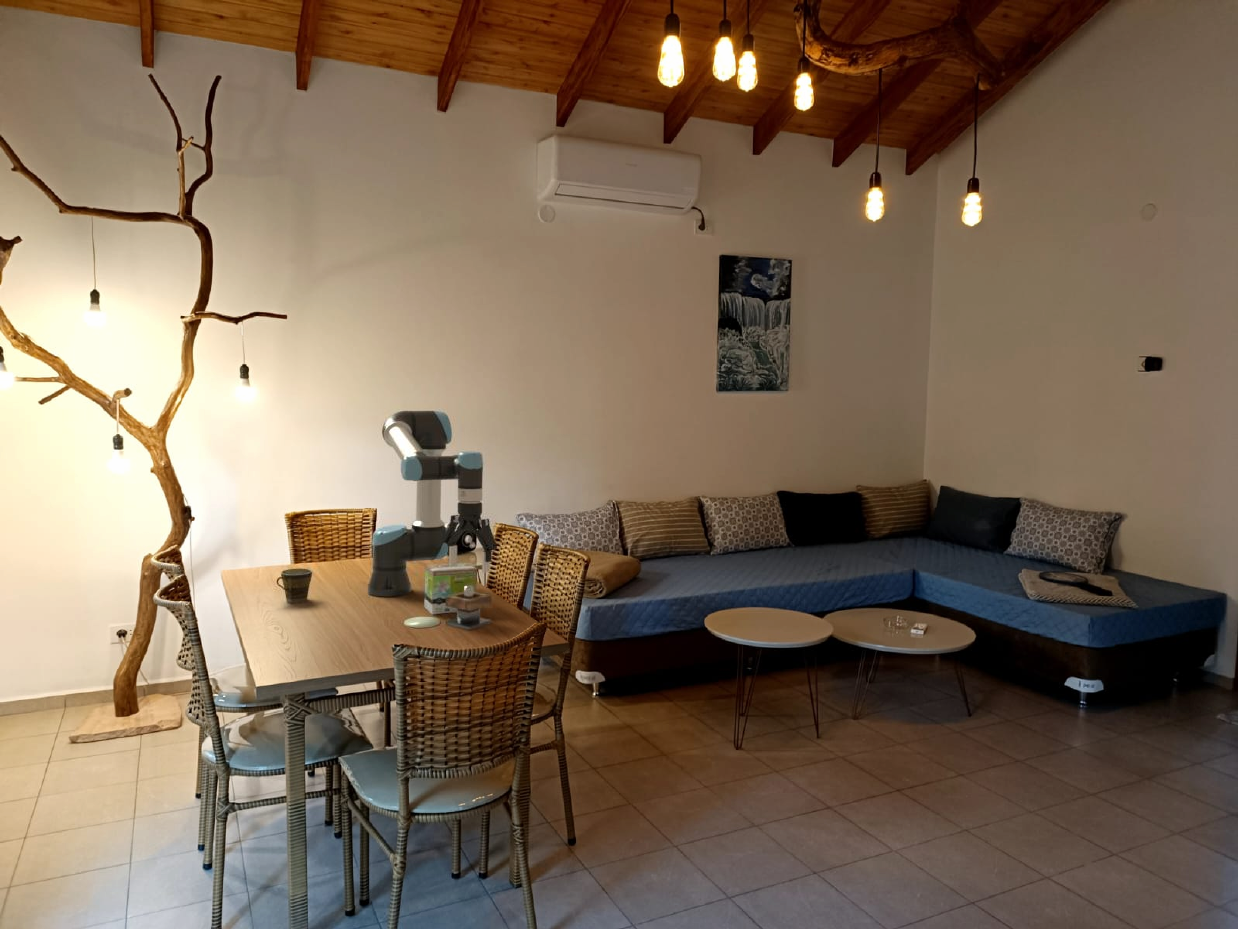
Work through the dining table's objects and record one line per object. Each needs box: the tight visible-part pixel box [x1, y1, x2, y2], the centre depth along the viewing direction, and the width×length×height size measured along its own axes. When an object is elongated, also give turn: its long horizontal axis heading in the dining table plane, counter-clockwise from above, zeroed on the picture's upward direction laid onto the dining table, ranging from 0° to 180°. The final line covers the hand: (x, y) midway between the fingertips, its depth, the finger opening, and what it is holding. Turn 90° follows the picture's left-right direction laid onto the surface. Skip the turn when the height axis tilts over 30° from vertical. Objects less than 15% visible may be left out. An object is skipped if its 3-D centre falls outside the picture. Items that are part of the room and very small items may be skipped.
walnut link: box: [446, 591, 492, 611], centre depth 271 cm, size 10×10×3 cm
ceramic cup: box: [276, 567, 313, 604], centre depth 291 cm, size 13×10×10 cm
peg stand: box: [444, 585, 492, 631], centre depth 271 cm, size 10×10×12 cm
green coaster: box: [403, 616, 441, 629], centre depth 271 cm, size 11×11×1 cm
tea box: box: [423, 562, 478, 615], centre depth 287 cm, size 15×10×15 cm, turn 117°
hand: (469, 569), depth 269 cm, fingers open, 13 cm apart
